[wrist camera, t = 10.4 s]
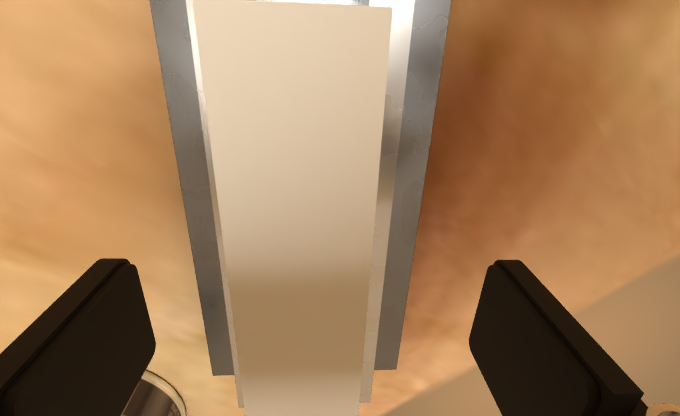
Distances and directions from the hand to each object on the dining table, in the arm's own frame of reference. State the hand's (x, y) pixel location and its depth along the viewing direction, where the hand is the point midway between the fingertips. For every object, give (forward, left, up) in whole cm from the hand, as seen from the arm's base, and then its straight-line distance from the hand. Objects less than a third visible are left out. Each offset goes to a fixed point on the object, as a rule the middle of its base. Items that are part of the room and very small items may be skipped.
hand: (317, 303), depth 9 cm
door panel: (0, 0, -9) cm, 9 cm away
